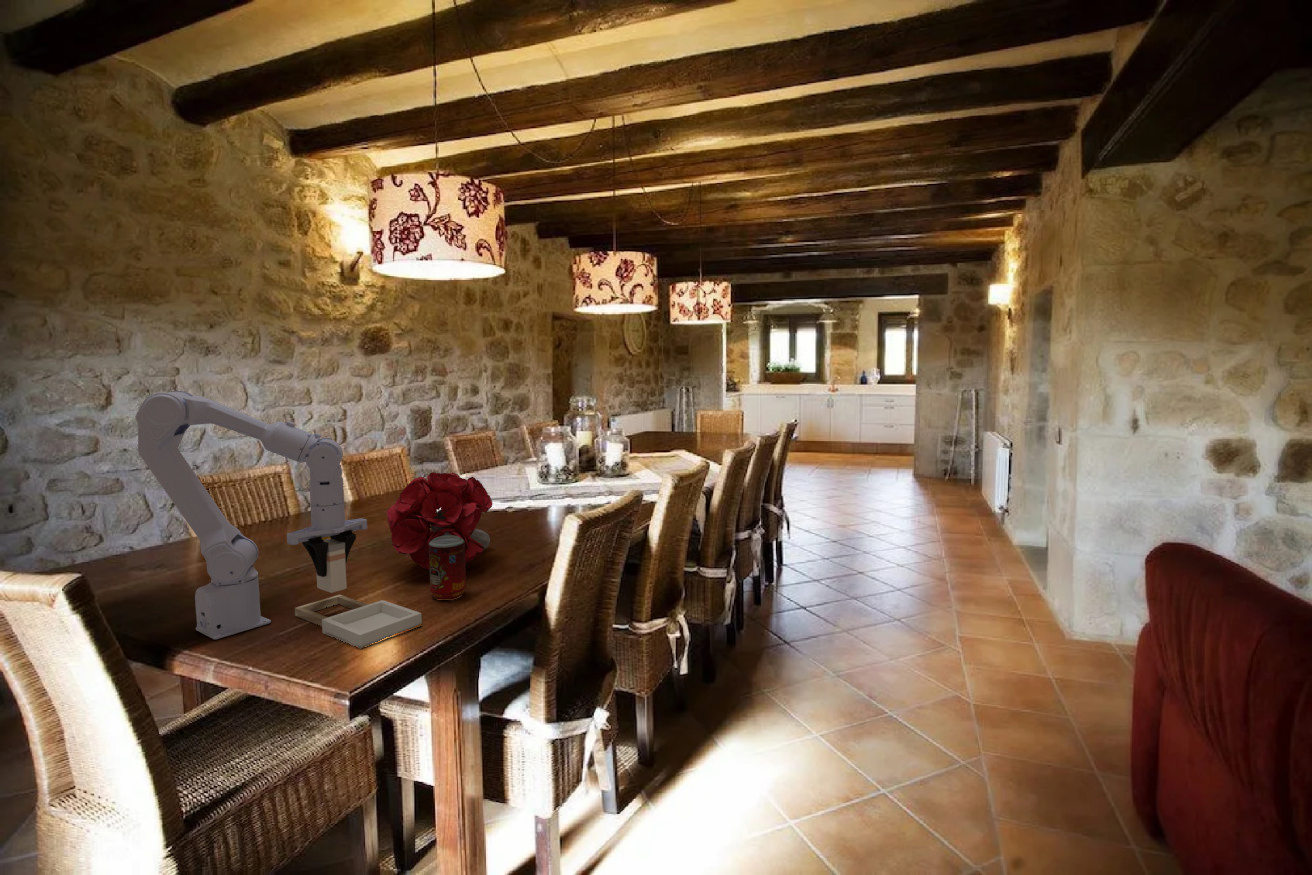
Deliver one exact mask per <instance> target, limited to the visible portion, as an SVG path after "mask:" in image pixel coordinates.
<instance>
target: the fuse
mask: <svg viewBox="0 0 1312 875" xmlns="http://www.w3.org/2000/svg"><path fill="white" fill-rule="evenodd" d="M324 542H327V543H329V544H328V549H327V557H326V563H327V575H326V576H325V577H321V576H318V575H317V572H316V586H317V587H316V588H317V589H320V590H322V591H324V592H328V593H330V594H333V593H336V592H339V591H343V590H345V589H347V588H348V587H347V586H348V585H347V570H346V569H347V568H346V566H347V563H346V564H345V558H346V556H345V542H341V541H337V540H334V539H326V540H324Z"/></svg>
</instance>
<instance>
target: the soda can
mask: <svg viewBox="0 0 1312 875" xmlns="http://www.w3.org/2000/svg"><path fill="white" fill-rule="evenodd" d="M429 567H430V569H429V587H430V588H429V590H430V593H432V595H433V597H434V598H433V599H434V600H435V599H454V598H457V597H459V596H461V595H462V594H464V592H465V589H467V588H466V587H467V584H466V583H467V579H466V563H465V542H464V540H463V539H461V538H460V537H458V536H453V535H450V536H441V537H437V538H434V539H433V540H432V541H431V542H430V543H429Z"/></svg>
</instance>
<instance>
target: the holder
mask: <svg viewBox="0 0 1312 875" xmlns="http://www.w3.org/2000/svg"><path fill="white" fill-rule="evenodd" d="M339 604H340V606H342V607H345V608H347V607H349V608H348V609H350V608H351V609H350V610H353V609H356V608H359V607H363V606H366V605H369V603H365V602H363V601H359V600H356V599H353V598H350V597H348V596H345V595H342V594H336V595H334V596H330V597H327V598H324V599H320V600H317V601H313V602H310V603H307V604H304V605H300V606H296V607H294V616H295V617H297V618H300V619H303V620H305V621H308V622H310V623H313V624H314V625H317V624H318V625H317V626H319V625H320V627H322V619H325V618H328V616H325V615H323V614H320V613H319V612H317V611H320V610H323V609H326V607H327V608H330V607H334V606H336V605H339ZM333 605H334V606H333Z"/></svg>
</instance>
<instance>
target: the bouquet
mask: <svg viewBox="0 0 1312 875" xmlns="http://www.w3.org/2000/svg"><path fill="white" fill-rule="evenodd" d="M492 507H493V500H492V498H491V495H490V494H489V493H488V490H487V488H485V487H484V485H483V483H482V482H481V481H480V480H478V479H476V477H474V476H470V477H467V479H466V478H465V477H464V478H463V477H461V476H460V475H459V474H457V473H455V472H448V473H447V472H443V473H440V472H435V471H433V472H429V474H427V477H426V478H425V477H423V476H418V477H416V478H414V479H412V480H411V481H410V482H409V483H408V484H407V485H406V486H405V488H403V490H402V491H401V492H400V494H399V497H397V500H396V501H395V503H393V504H392V505H391V506H389V507H388V508H387V510H386V517H387V523H388V526H389V530H390V533H391V534H390V536H391V543H392V544H391V545H392V547H393V549H394V550H396V552H397V553H398V554H401V555H407V554H408V555H409V556H410V559H411V560H412V561H413V562H414V563H415V564H418V565H419V566H420V567H421V568H423V569H426V570H430V567H429V543H430V542H431V541H432V540H433V539H434V538H437V537H441V536H458V537H460V538H461V539H463V540H464V542H465V564H467V563H470V562H471V561H473V560H474V559H476V558H477V557H479V556H480V555H481V554H482V553H483V551H484V550H486V549H487V548H488V547H489V545H490V543H491V538H490V535H489V534H488V533H487V532H486V531H484V530H482V529H479V528H477V524H478V523H479V522H480V520H481V518H482V513H488V512H489V510H490V509H491V508H492Z"/></svg>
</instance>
